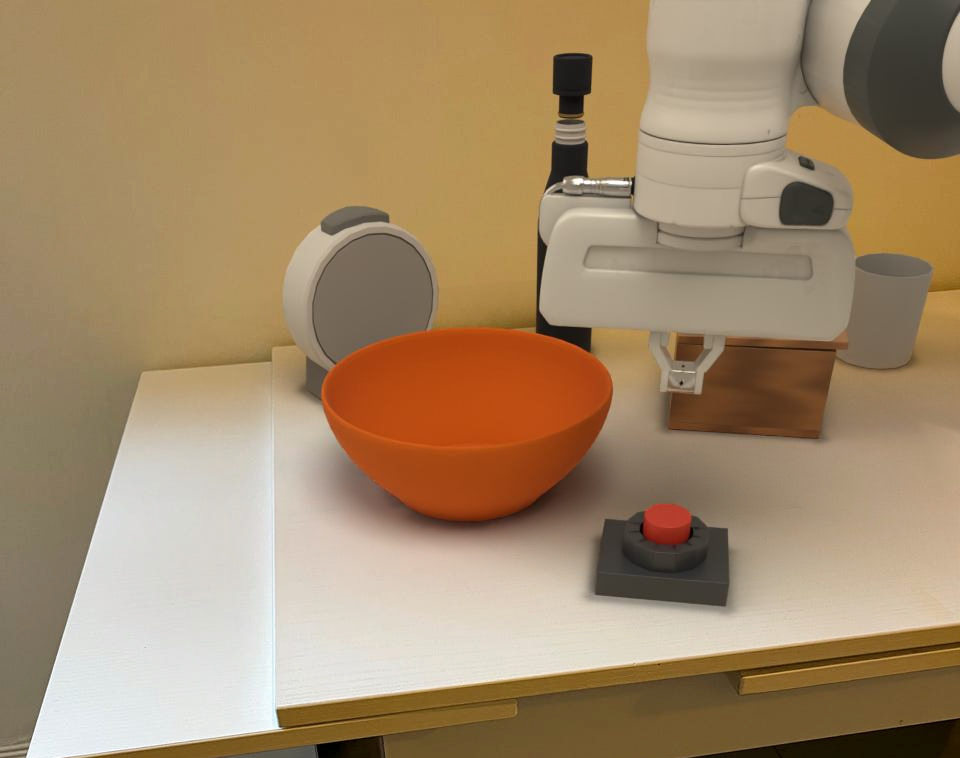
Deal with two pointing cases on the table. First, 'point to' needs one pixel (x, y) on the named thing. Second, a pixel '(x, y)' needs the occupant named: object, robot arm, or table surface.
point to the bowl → (467, 416)
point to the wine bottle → (567, 165)
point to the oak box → (756, 391)
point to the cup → (886, 309)
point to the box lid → (771, 341)
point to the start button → (667, 524)
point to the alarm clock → (356, 288)
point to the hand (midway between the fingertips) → (680, 390)
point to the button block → (663, 564)
